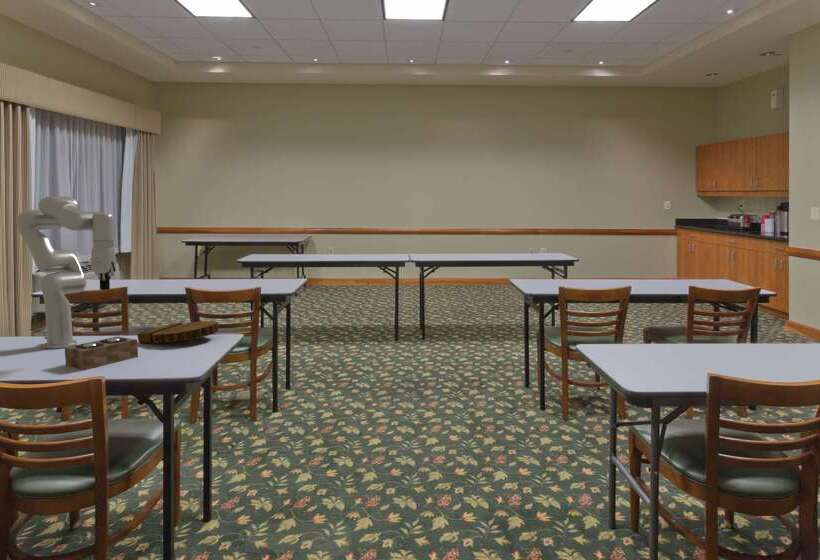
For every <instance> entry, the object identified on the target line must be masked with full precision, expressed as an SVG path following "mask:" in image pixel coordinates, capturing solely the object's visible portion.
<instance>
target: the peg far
mask: <svg viewBox="0 0 820 560" xmlns="http://www.w3.org/2000/svg"><path fill="white" fill-rule="evenodd" d="M110 338H111V339H108V338H107V339H108V340H107V341H117V340H120V338H113V337H110Z"/></svg>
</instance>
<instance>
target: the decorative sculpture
mask: <svg viewBox="0 0 820 560" xmlns="http://www.w3.org/2000/svg"><path fill="white" fill-rule="evenodd" d="M218 331H219V322H218V321H215V320H214V321H213V320H207V321H206V320H205V321H196V322H187V323H183V322H173V323H168V324H166V325H162V326H159V327H156V328H153V329H149V330H146V331H143V332H140V333H137V341H138V343H139V344H141V343H146V344H155V343H157V344H165V343H170V342H174V343H175V342H176V343H177V342H183V341H188V340H193V339H200V338H202V337H206V336H209V335H210V336H211V335H214V334H215V333H217V332H218Z"/></svg>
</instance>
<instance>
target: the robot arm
mask: <svg viewBox="0 0 820 560" xmlns="http://www.w3.org/2000/svg"><path fill="white" fill-rule="evenodd" d="M38 202H39V203H38V209H29V210H24V211H22V212H20V213H19V214H18V216H17V218H16V219H17V221H16V225H17V229H18V232H19V234H20V236H21V238H22V239H23V240H24V242H25V243H26V245H27V246H28V248H29V251H30V254H31V256H32V259H33V262H34V264H35V266H36V268H37V270H39V271H40V272H41V273H47V274H45V275H43V277H42V278H41V279H40V282H39V283H40V284H39V286H40V290H41V293H42V297H43V301H44V315H45V327H46V336H44V338H43V339H44V340H46V342H45V343H43V344H42V347H43V348H44V349H49V350H50V349H52V350H53V349H65V347H70V346H75V345H78V340H75V339H73V323H72V322H73V321H72V308H71V307H72V306H71V302H70V301H69V300H68V298H67V297H66V296H65V295H70V294H76V293H81V292H83V291H84V290H85V289H86V288H87V280H86V277H85V276H86V275H85V274H84V271H83V269H82V267H81V264H80V262H79V259H78V257H77V256H76V254H75V253H74V252H73V251H72V250H69V249H55V248H54V246H53V244H52V241H51V240H50V239H49V237H48V236H47V235H46V234H44V233H43V232H41V231H40V230H60V229H62V228H65V229H68V230H70V231H77V232H78V231H80V232H81V231H92V247H91V248H92V249H91V253H90V255H91V256H90V270H91V272H93V273H94V274H95V275H97V277H98V280H99V290H100V291H106V290H110V288H111V287H110V284H111V283H110V280H111V279H112V277H114V276H115V273H116V271H117V259H116V257H117V256H116V251H115V225H114V224H115V223H114V221H115V220H114V215H113V214H112V213H109V212H100V211H79V204H78V201H76V199H74V198H73V197H71V196H54V195H53V196H45V197H42V199H40V200H39V201H38Z"/></svg>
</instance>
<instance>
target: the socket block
mask: <svg viewBox="0 0 820 560" xmlns="http://www.w3.org/2000/svg"><path fill="white" fill-rule="evenodd" d="M111 338H120V340H117V341H107V340H108V339H111ZM87 343H96V345H93V346H89V347H86V346H83V344H87ZM138 348H139V347H138V339H137V338H136V339H135V338H128V337H124V336H123V337H122V336H114V337H109V338H105V339H104V338H103V339H100V340H99V339H98V340H95V341H90V342H85V343H81V344H76V345H74V346H70V347H65V348H64V357H65V367H71V368H74V369H75V368H76V369H81V370H85V371H87V370H90V369H96V368H100V367H103V366H107V365H111V364H114V363H118V362H123V361H127V360H130V359H135V358H138V357H139V351H138ZM134 357H135V358H134Z"/></svg>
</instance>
